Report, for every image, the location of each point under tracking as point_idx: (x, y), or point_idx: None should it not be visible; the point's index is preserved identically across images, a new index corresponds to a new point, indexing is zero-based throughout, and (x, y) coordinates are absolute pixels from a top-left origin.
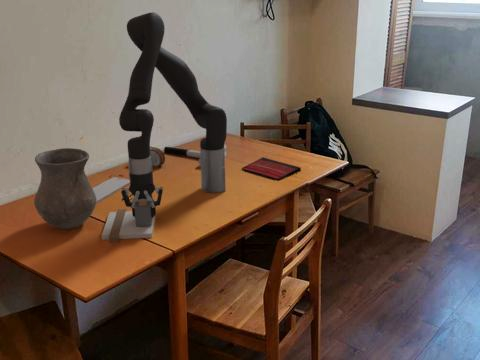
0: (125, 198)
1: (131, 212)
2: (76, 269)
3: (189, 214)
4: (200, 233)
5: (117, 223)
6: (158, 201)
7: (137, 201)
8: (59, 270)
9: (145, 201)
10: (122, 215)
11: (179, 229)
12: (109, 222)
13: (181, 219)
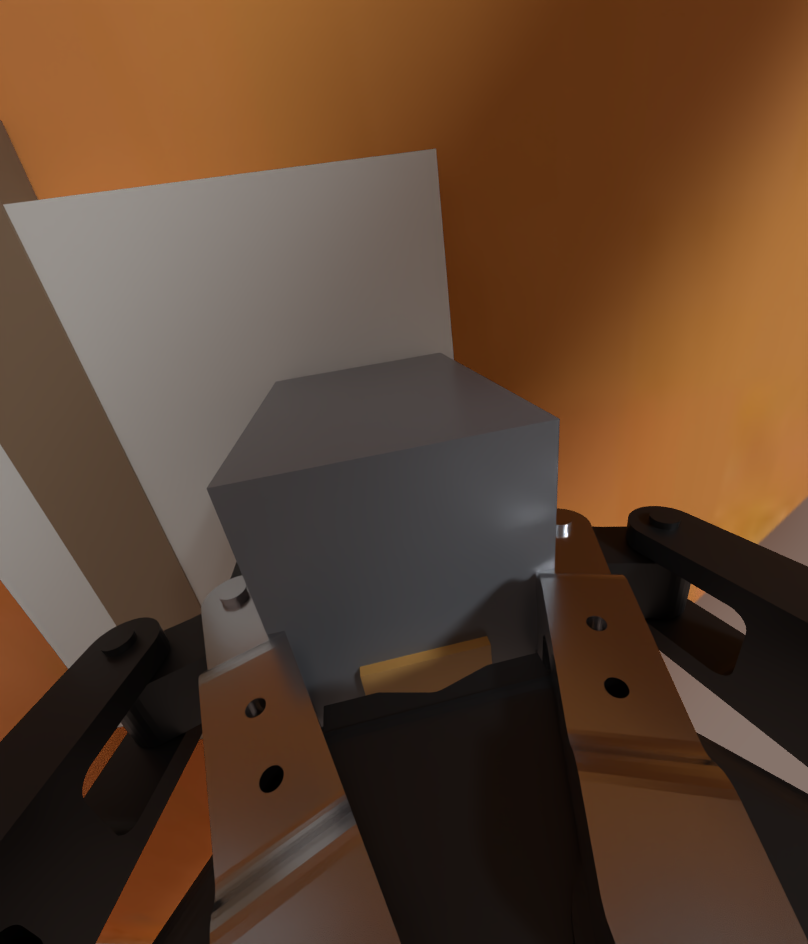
0: (76, 916)
1: (118, 240)
2: (185, 892)
3: (773, 163)
4: (759, 521)
5: (122, 553)
6: (686, 645)
7: (312, 661)
8: (110, 914)
9: (468, 658)
10: (49, 359)
11: (642, 487)
12: (13, 539)
13: (679, 301)
